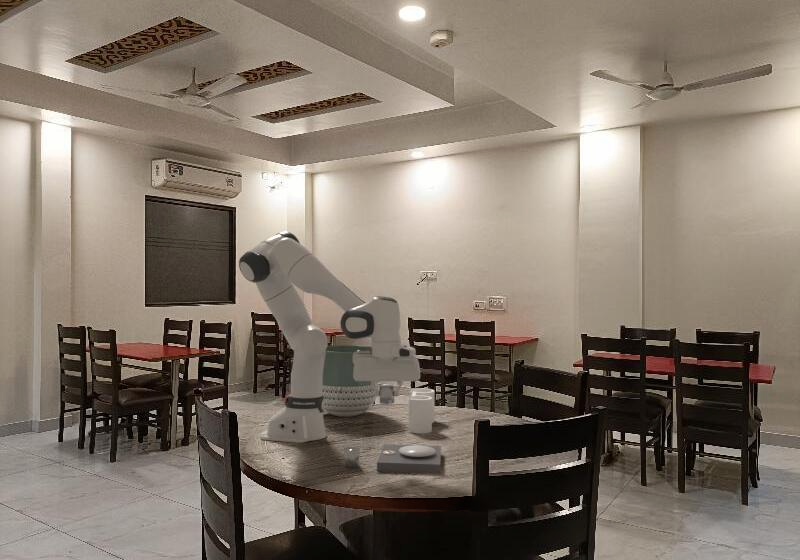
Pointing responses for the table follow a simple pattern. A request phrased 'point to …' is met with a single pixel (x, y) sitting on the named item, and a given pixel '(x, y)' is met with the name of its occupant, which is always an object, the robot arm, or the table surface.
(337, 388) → the planter
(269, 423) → the robot arm
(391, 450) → the scale
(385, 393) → the cylinder
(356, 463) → the spacer
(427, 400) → the c-shaped pipe clip
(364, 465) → the table surface
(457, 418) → the table surface
